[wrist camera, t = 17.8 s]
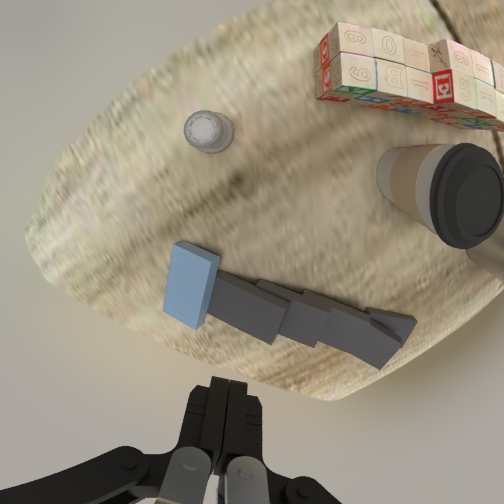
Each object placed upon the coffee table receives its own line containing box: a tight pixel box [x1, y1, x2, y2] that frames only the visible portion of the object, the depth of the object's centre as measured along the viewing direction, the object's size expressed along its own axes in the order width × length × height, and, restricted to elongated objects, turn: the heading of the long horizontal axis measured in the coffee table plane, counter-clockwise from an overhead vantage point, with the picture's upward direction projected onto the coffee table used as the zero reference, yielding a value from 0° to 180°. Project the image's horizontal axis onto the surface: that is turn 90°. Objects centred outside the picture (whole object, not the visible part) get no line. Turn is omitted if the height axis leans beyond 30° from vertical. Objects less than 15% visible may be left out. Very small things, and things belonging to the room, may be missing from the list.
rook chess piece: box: [184, 110, 234, 153], centre depth 24 cm, size 4×4×8 cm
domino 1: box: [207, 270, 291, 345], centre depth 32 cm, size 2×5×9 cm
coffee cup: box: [377, 143, 504, 249], centre depth 23 cm, size 9×9×15 cm
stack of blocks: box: [314, 22, 504, 132], centre depth 20 cm, size 21×6×12 cm, turn 90°
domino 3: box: [303, 289, 371, 354], centre depth 34 cm, size 2×5×9 cm
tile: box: [163, 241, 221, 330], centre depth 32 cm, size 2×5×9 cm
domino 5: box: [364, 307, 417, 348], centre depth 37 cm, size 2×5×9 cm
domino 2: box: [256, 279, 332, 348], centre depth 33 cm, size 2×5×9 cm
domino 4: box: [349, 306, 403, 370], centre depth 35 cm, size 2×5×9 cm
